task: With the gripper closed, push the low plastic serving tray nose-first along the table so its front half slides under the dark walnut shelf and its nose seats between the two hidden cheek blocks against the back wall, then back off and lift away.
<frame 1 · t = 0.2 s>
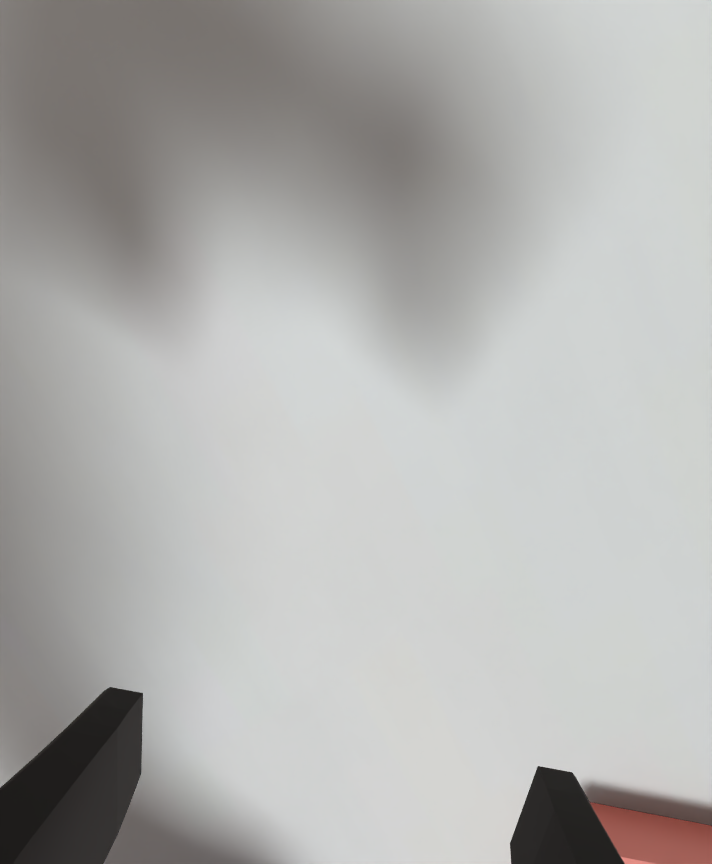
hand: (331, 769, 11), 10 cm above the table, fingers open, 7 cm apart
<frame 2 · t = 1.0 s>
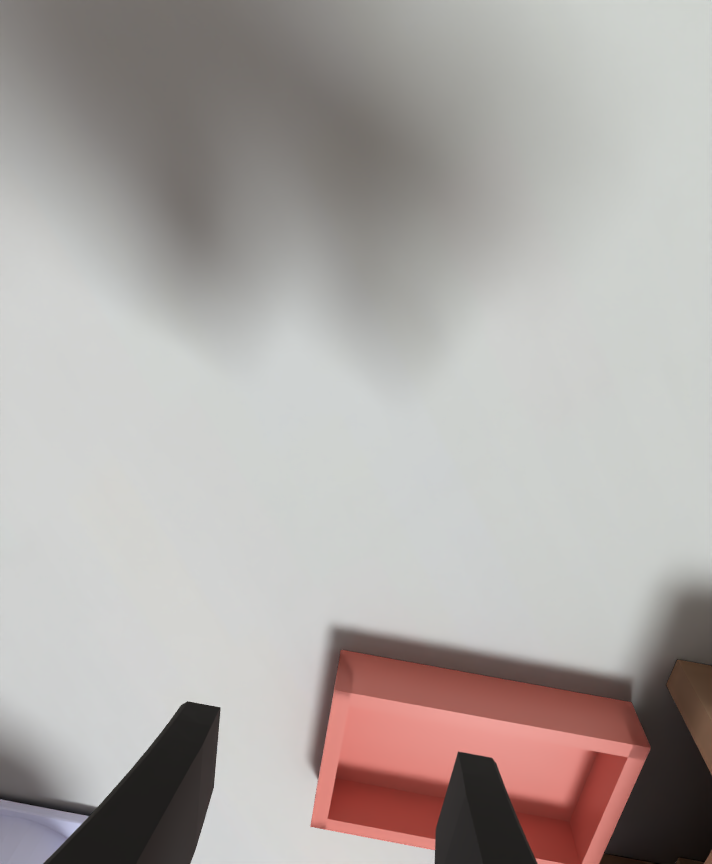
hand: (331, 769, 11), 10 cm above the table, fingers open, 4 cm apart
tray: (464, 735, 25), on the table
shelf: (690, 786, 24), on the table
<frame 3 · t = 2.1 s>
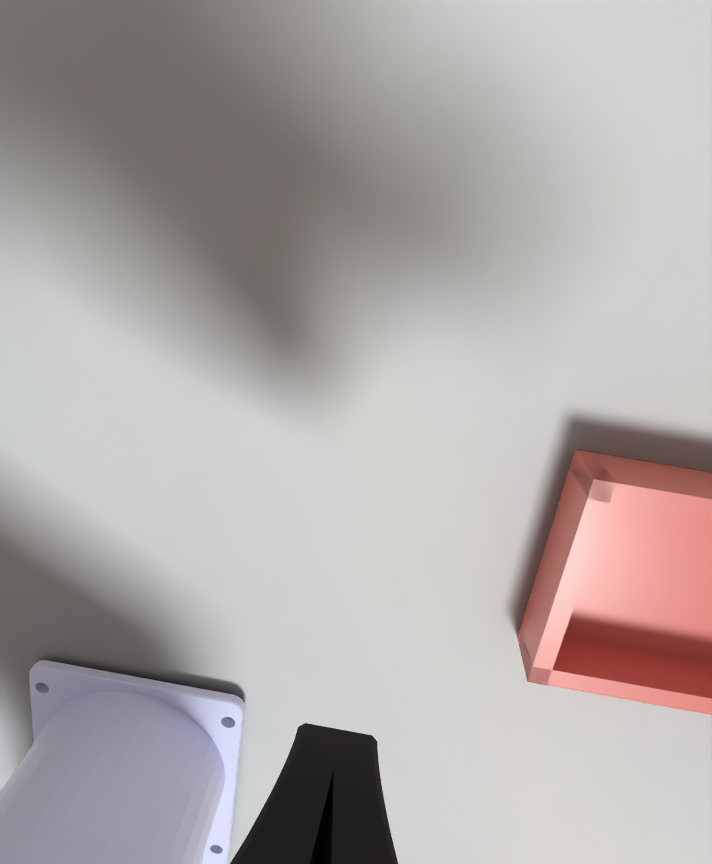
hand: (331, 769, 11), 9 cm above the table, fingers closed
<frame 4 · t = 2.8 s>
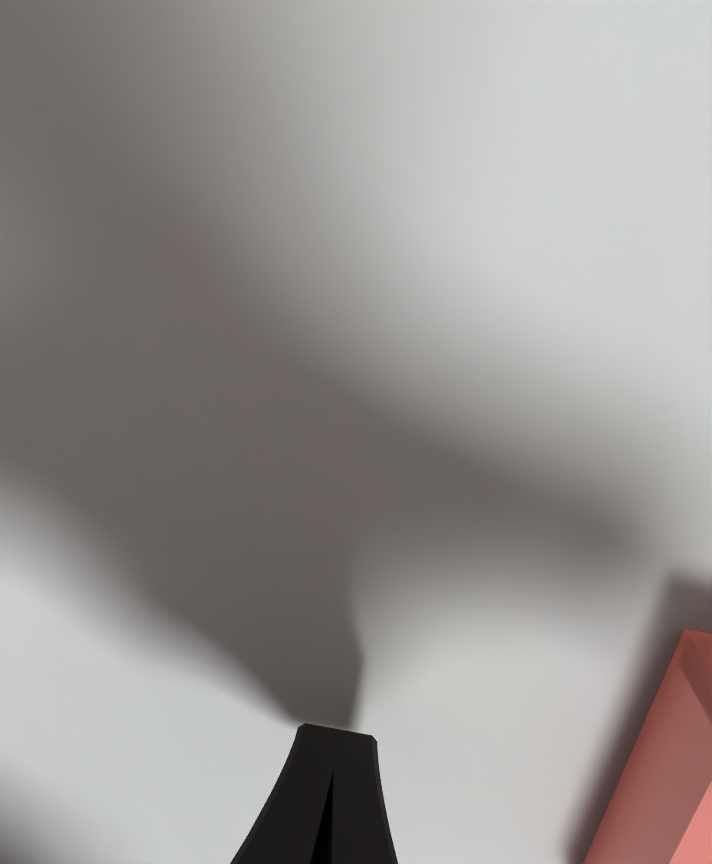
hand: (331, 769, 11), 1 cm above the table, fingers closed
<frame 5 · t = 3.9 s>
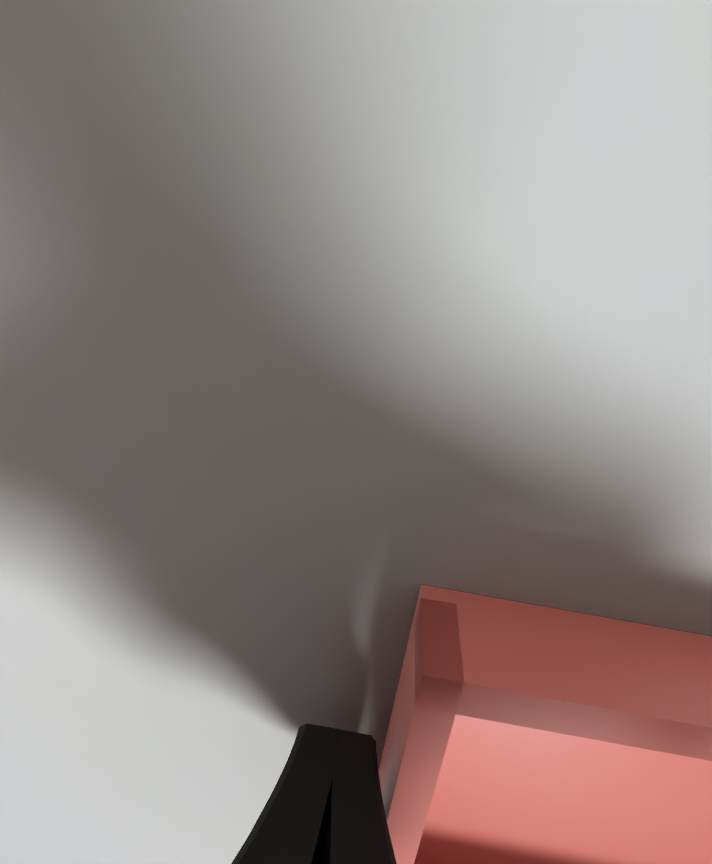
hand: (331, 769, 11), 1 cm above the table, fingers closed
tray: (663, 772, 12), on the table, touching gripper
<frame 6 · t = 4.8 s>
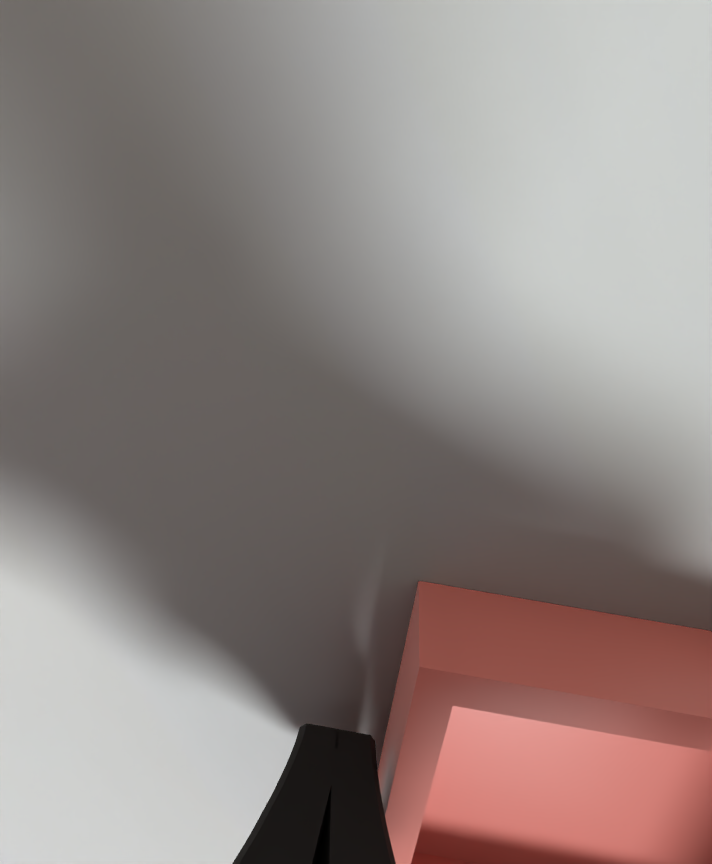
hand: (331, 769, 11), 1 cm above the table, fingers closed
tray: (662, 765, 12), on the table
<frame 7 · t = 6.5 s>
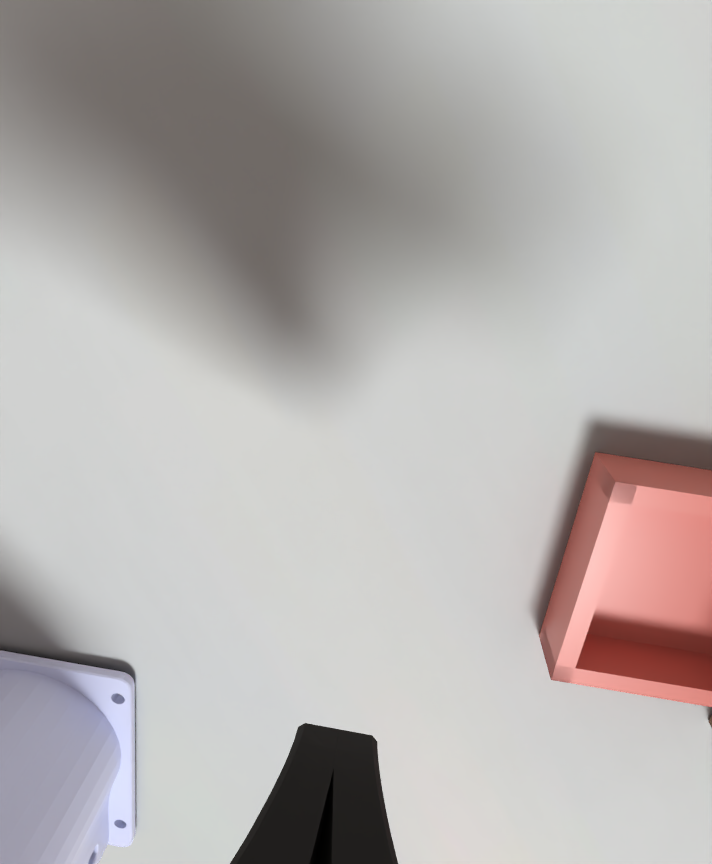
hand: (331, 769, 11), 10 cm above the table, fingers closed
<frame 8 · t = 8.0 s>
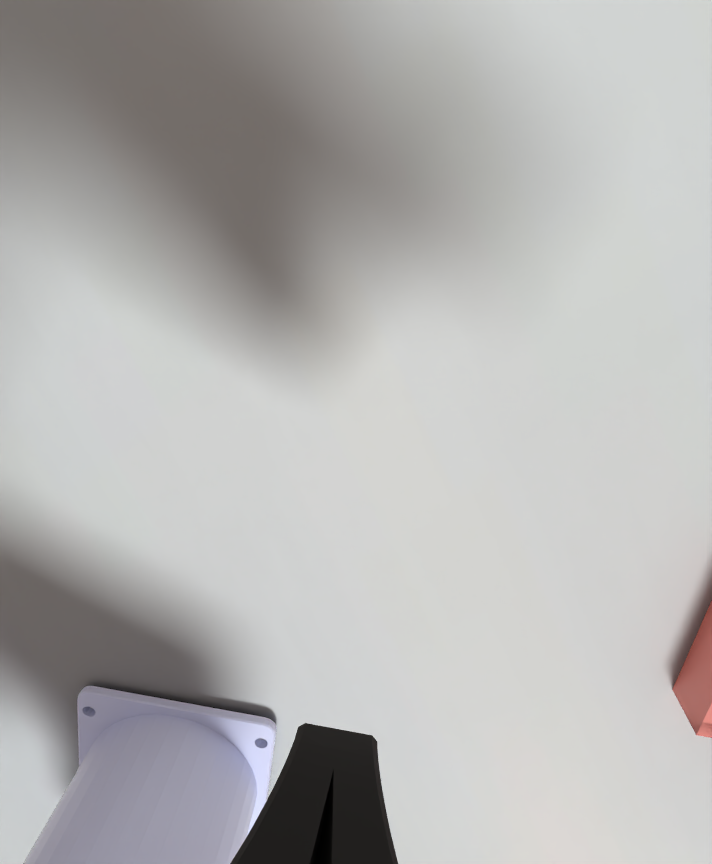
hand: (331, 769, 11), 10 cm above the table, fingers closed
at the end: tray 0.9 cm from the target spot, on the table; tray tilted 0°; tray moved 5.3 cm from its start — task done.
